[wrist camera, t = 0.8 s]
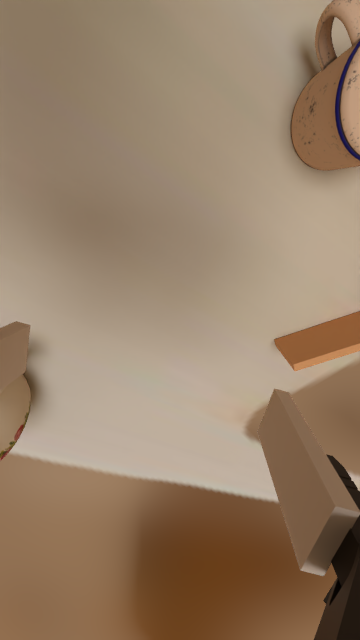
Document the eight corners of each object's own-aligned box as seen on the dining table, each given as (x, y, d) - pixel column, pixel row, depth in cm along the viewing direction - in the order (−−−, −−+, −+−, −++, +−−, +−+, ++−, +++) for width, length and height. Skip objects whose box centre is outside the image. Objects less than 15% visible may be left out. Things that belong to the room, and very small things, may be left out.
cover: (275, 345, 37) (294, 371, 32) (274, 339, 37) (293, 364, 32) (418, 298, 36) (464, 317, 30) (418, 292, 35) (464, 309, 30)
